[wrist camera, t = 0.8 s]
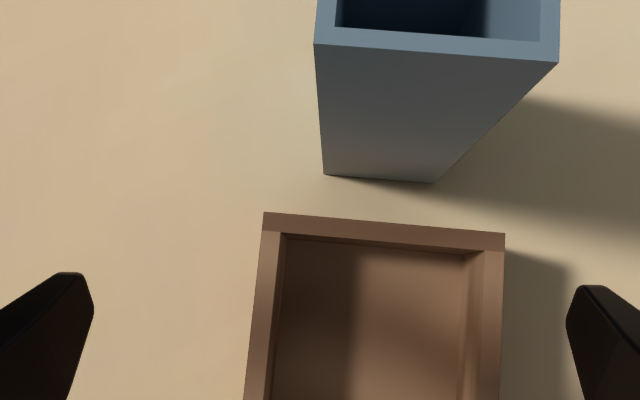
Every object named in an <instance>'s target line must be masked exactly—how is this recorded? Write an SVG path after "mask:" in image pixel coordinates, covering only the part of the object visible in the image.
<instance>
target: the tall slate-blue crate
mask: <svg viewBox="0 0 640 400" xmlns="http://www.w3.org/2000/svg"><path fill="white" fill-rule="evenodd" d="M313 46H314V58H315V71H316V84H317V96H318V109H319V122H320V134H321V147H322V160H323V173H324V174H329V175H340V176H352V177H363V178H375V179H387V180H398V181H410V182H422V183H433V184H434V183H435V182H436V181H437V180H438V179H439V178H440V177H441V176H442V175H443V174H444V173H445V172H446V171H448V170H449V169H450V168H451V167H452V166H453V165H454V164H455V163H456V162H457V161H458V160H459V159H460V158H461V157H462V156H463V155H464V154H465V153H466V152H467V151H468V150H469V149H470V148H471V147H472V146H473V145H474V144H475V143H476V142H477V141H478V140H479V139H480V138H482V137H483V136H484V135H485V134H486V133H487V132H488V131H489V130H490V129H491V128H492V127H493V126H494V125H495V124H496V123H497V122H498V121H499V120H500V119H501V118H502V117H503V116H504V115H505V114H506V113H507V112H508V111H509V110H510V109H511V108H512V107H513V106H515V105H516V104H517V103H518V102H519V101H520V100H521V99H522V98H523V97H524V96H525V95H526V94H527V93H528V92H529V91H530V90H531V89H532V88H533V87H534V86H535V85H536V84H537V83H538V82H539V81H540V80H541V79H542V78H543V77H544V76H545V75H546V74H548V73H549V72H550V71H551V70H552V69H553V68H554V67H555V66H556V65H557V64H558V63H559V46H560V0H318V2H317V12H316V22H315V32H314V42H313Z"/></svg>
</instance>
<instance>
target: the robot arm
mask: <svg viewBox="0 0 640 400" xmlns="http://www.w3.org/2000/svg"><path fill="white" fill-rule="evenodd" d="M93 315H94V304H93V301H92V298H91V295H90V292H89V289H88V286H87V283H86V280H85V277H84V276H83V275H82V274H81V273H78V272H59V273H56V274H55V275H53V276H51V277H50V278H48V279H47V280H45V281H44V282H42V283H41V284H39V285H37V286H36V287H34V288H33V289H31V290H30V291H28V292H27V293H25V294H24V295H22V296H20V297H19V298H17V299H16V300H14V301H13V302H11V303H10V304H8V305H7V306H5V307H3V308H2V309H0V400H66V399H67V396H68V394H69V391H70V388H71V386H72V383H73V380H74V377H75V373H76V370H77V367H78V364H79V361H80V358H81V354H82V351H83V348H84V345H85V342H86V338H87V335H88V332H89V329H90V326H91V323H92V319H93ZM566 331H567V335H568V339H569V343H570V346H571V350H572V354H573V358H574V362H575V365H576V369H577V373H578V377H579V380H580V384H581V388H582V392H583V396H584V399H585V400H640V310H638V309H637V308H635V307H634V306H632V305H631V304H630V303H628V302H627V301H625V300H624V299H623V298H621V297H620V296H618V295H617V294H616V293H614V292H613V291H611V290H610V289H609V288H607V287H605V286H602V285H581V286H579V287H578V288H577V290H576V292H575V294H574V297H573V300H572V302H571V305H570V308H569V310H568V313H567V316H566Z"/></svg>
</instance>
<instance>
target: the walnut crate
mask: <svg viewBox="0 0 640 400" xmlns="http://www.w3.org/2000/svg"><path fill="white" fill-rule="evenodd" d="M504 252H505V233H497V232H486V231H475V230H464V229H452V228H441V227H430V226H419V225H407V224H396V223H385V222H374V221H363V220H351V219H340V218H329V217H318V216H306V215H295V214H284V213H273V212H264V215H263V224H262V233H261V242H260V251H259V260H258V269H257V278H256V287H255V296H254V305H253V314H252V323H251V332H250V341H249V351H248V360H247V369H246V378H245V387H244V396H243V400H499V387H500V360H501V333H502V306H503V279H504Z"/></svg>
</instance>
